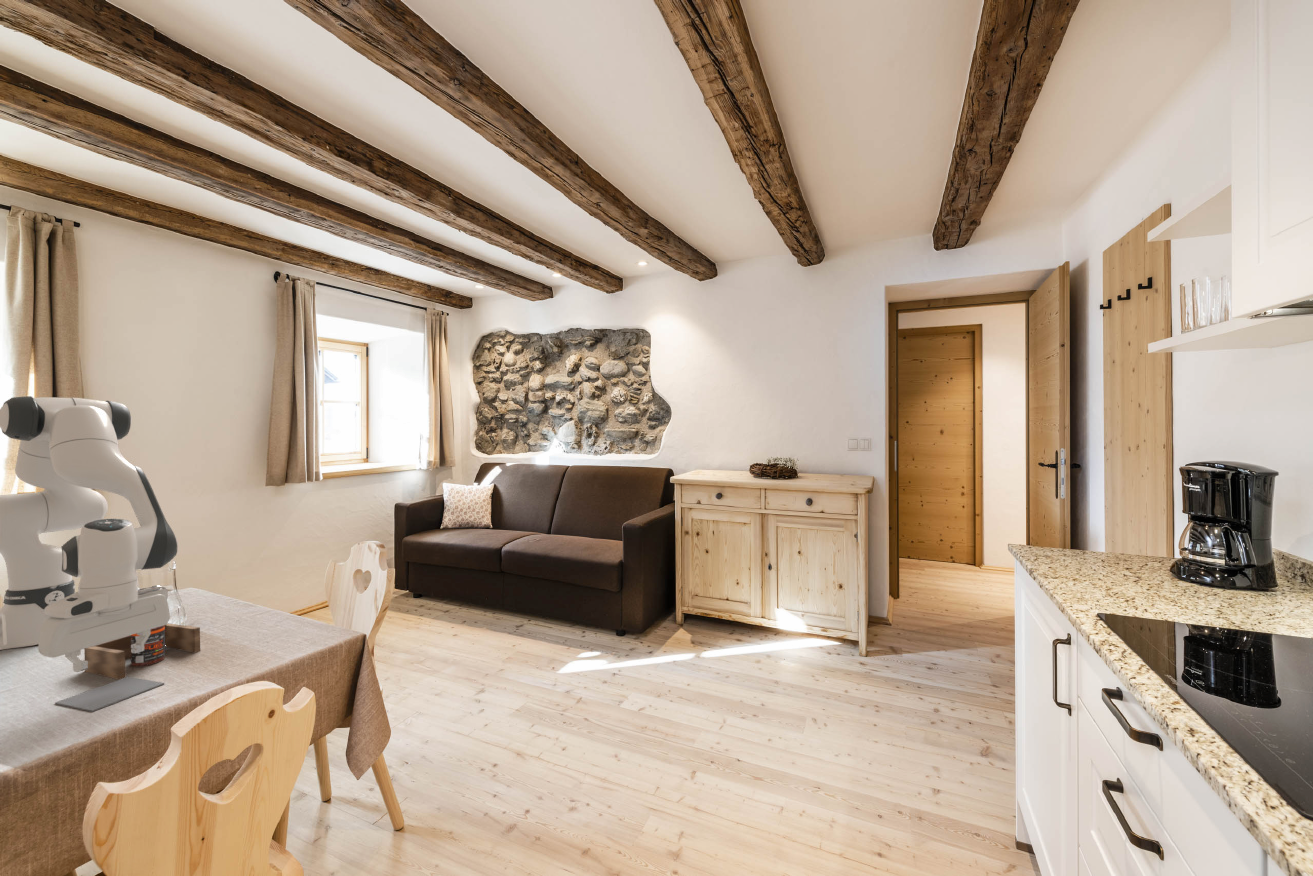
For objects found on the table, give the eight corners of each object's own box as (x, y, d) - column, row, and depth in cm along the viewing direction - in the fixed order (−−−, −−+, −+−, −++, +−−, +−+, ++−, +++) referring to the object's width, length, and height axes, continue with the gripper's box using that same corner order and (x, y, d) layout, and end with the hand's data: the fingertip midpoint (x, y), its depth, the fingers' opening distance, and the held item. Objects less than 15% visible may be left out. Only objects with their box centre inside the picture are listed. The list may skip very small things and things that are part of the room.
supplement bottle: (143, 668, 124) (142, 621, 124) (124, 666, 125) (123, 619, 125) (171, 658, 130) (170, 612, 130) (153, 656, 131) (152, 611, 131)
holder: (84, 673, 122) (84, 647, 122) (168, 646, 137) (167, 623, 137) (118, 679, 118) (118, 653, 118) (200, 650, 134) (199, 627, 134)
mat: (55, 704, 108) (55, 702, 108) (128, 677, 119) (128, 676, 119) (92, 712, 104) (92, 710, 104) (164, 684, 116) (164, 683, 116)
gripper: (157, 582, 122) (158, 640, 123) (32, 610, 103) (34, 680, 103) (176, 584, 121) (177, 643, 121) (52, 613, 101) (53, 684, 101)
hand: (110, 661), depth 112 cm, fingers open, 8 cm apart
